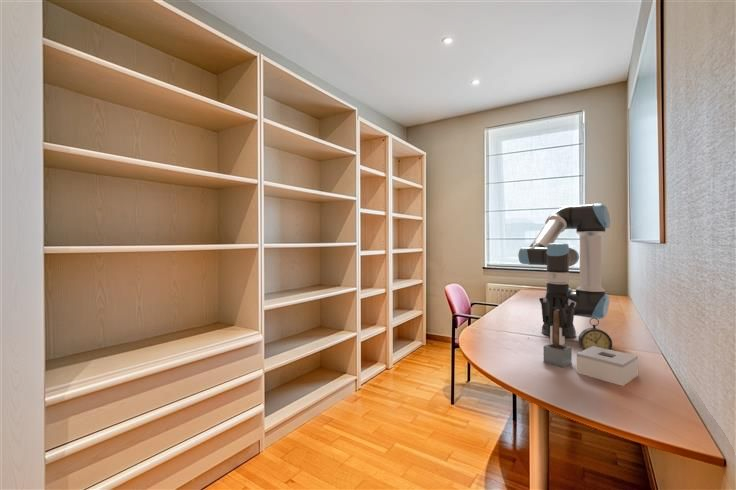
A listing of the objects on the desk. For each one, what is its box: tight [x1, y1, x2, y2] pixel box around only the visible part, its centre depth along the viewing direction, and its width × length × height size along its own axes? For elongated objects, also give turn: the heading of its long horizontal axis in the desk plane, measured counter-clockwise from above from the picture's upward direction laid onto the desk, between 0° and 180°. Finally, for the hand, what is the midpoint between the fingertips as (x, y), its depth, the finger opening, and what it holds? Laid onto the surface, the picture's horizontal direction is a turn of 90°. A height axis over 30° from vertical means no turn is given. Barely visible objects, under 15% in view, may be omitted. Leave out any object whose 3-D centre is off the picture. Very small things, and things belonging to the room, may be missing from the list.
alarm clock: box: [577, 318, 613, 351], centre depth 138 cm, size 11×5×16 cm, turn 73°
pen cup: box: [543, 343, 573, 368], centre depth 133 cm, size 7×7×6 cm
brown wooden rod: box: [553, 310, 561, 349], centre depth 133 cm, size 3×3×18 cm
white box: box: [576, 346, 639, 387], centre depth 121 cm, size 14×14×7 cm
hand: (557, 342), depth 133 cm, fingers closed on brown wooden rod, 3 cm apart
